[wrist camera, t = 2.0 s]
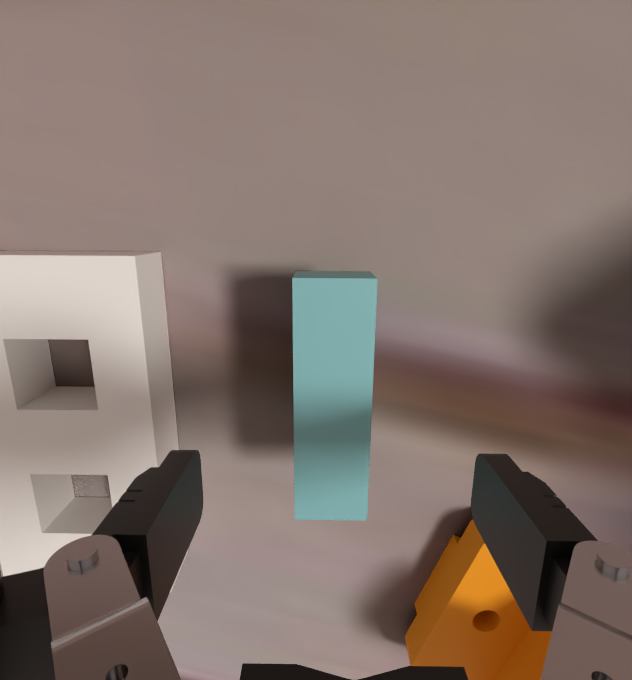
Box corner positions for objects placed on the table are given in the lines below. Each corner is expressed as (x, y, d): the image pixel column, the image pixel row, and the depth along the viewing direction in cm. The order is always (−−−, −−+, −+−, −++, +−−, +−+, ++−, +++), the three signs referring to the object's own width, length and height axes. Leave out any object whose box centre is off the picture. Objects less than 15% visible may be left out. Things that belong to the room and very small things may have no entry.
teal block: (301, 262, 21) (292, 278, 15) (360, 263, 21) (377, 278, 15) (301, 442, 23) (294, 519, 17) (354, 442, 23) (366, 520, 17)
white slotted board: (-18, 250, 21) (-73, 254, 18) (160, 252, 21) (134, 256, 18) (42, 549, 26) (6, 590, 23) (188, 551, 25) (170, 592, 23)
